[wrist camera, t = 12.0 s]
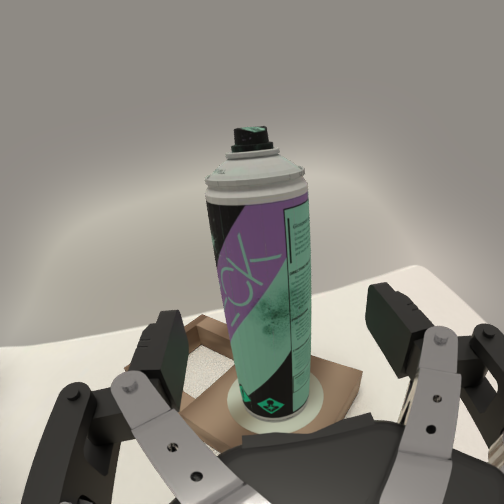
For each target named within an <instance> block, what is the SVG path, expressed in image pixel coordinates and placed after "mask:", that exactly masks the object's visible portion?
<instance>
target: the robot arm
mask: <svg viewBox="0 0 504 504" xmlns="http://www.w3.org/2000/svg"><path fill="white" fill-rule="evenodd" d="M365 320H366V325H367V328H368V330H369V331H370V333H371V334H372V336H373V338H374V339H375V341H376V342H377V344H378V346H379V347H380V349H381V351H382V352H383V354H384V355H385V357H386V359H387V360H388V362H389V364H390V365H391V367H392V369H393V370H394V372H395V374H396V376H397V377H398V379H400V378H403V377H406V376H409V378H410V381H409V384H408V388H407V392H406V395H405V399H404V402H403V406H402V409H401V412H400V415H399V418H398V421H397V423H396V422H391V421H384V420H374V419H373V417H372V415H371V412H370V413H366V414H363V415H359V416H355V417H351V418H347V419H343V420H340V421H338V422H336V423H334V424H331V425H329V426H327V427H325V428H322V429H320V430H318V431H315V432H313V433H309V434H301V433H281V432H272V433H263V434H254V435H243V436H242V444H241V445H238V446H235V447H233V448H230V449H228V450H226V451H224V452H223V453H221V454H219V455H218V456H216V455H215V454H214V453H213V452H212V451H211V450H210V449H209V448H208V447H207V446H206V444H205V443H204V442H203V441H202V440H201V439H200V438H199V437H198V436H197V435H196V433H195V432H194V431H193V430H192V429H191V428H190V427H189V425H188V424H187V423H186V422H185V421H184V420H183V418H182V417H181V416H180V415H179V414H178V412H180V406H181V399H182V393H183V386H184V380H185V373H186V367H187V361H188V355H189V344H188V339H187V335H186V332H185V328H184V325H183V321H182V317H181V314H180V312H179V310H169V311H161V312H160V314H159V317H158V319H157V322H156V323H153V324H150V325H149V326H148V327H147V328H146V329H145V330H144V331H143V332H142V335H141V337H140V341H139V342H138V345H137V348H136V350H135V353H134V355H133V358H132V361H131V363H130V366H129V369H128V371H127V372H124V373H122V374H120V375H118V376H117V377H116V378H115V379H114V380H113V382H112V384H111V387H109V388H105V389H101V390H96V391H91V390H90V388H89V386H88V385H87V384H85V383H82V382H75V383H71V384H69V385H67V386H66V387H64V388H63V389H62V391H61V392H60V394H59V396H58V398H57V400H56V403H55V405H54V407H53V410H52V412H51V415H50V417H49V419H48V422H47V425H46V427H45V430H44V432H43V435H42V438H41V440H40V443H39V446H38V449H37V451H36V454H35V457H34V460H33V463H32V466H31V470H30V473H29V476H28V479H27V483H26V486H25V490H24V493H23V497H22V501H21V504H111V501H112V493H113V486H114V480H115V473H116V467H117V461H118V456H119V450H120V445H121V442H122V441H127V440H132V439H136V440H137V442H138V443H139V445H140V446H141V448H142V450H143V451H144V453H145V454H146V456H147V457H148V459H149V460H150V462H151V463H152V465H153V466H154V468H155V469H156V471H157V472H158V474H159V475H160V476H161V478H162V479H163V480H164V482H165V483H166V485H167V486H168V487H169V489H170V490H171V491H172V493H173V494H174V495H175V496H176V498H175V499H174V500H172V501H171V502H170V503H169V504H504V335H503V334H502V333H501V332H500V330H499V329H498V328H496V327H494V326H493V325H490V324H479V325H477V326H476V327H475V328H474V331H473V334H472V336H458V337H457V335H456V334H455V332H454V331H452V330H451V329H449V328H447V327H443V326H434V325H433V324H432V322H431V321H430V320H429V319H428V318H427V317H426V316H425V315H424V314H423V312H422V311H421V310H420V309H418V307H417V306H416V305H415V304H414V303H413V302H412V301H411V300H410V298H409V297H408V296H406V295H404V294H402V293H400V292H399V291H396V292H395V291H394V290H393V288H392V287H391V286H390V285H389V284H388V283H386V282H384V283H378V284H373V285H370V286H369V288H368V295H367V305H366V313H365ZM488 370H489V371H490V373H491V374H492V375H493V377H494V378H495V380H496V381H497V384H498V391H497V393H496V391H495V390H494V388H493V387H492V386H491V384H490V383H489V381H488V380H487V378H486V377H485V376H486V374H487V372H488ZM460 398H461V400H462V401H463V403H464V405H465V406H466V408H467V410H468V411H469V413H470V415H471V417H472V418H473V420H474V422H475V424H476V426H477V427H478V429H479V431H480V433H481V435H482V437H483V439H484V441H485V442H486V444H487V446H488V448H489V452H488V460H489V461H488V462H484V461H482V460H479V459H477V458H474V457H472V456H469V455H467V454H465V453H462V452H460V451H458V450H455V449H453V443H454V437H455V431H456V425H457V418H458V410H459V401H460Z"/></svg>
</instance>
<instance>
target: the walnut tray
mask: <svg viewBox="0 0 504 504" xmlns="http://www.w3.org/2000/svg"><path fill="white" fill-rule="evenodd" d="M184 328H185V332H186V335H187V339H188V344H189V353H191V352H192V351H193V350H195V349H196V348H197V347H199V346H200V345H203V346H205V347H207V348H209V349H212V350H214V351H216V352H218V353H220V354H222V355H224V356H226V357H228V358H230V359H232V360H234V358H233V353H232V348H231V343H230V338H229V333H228V328H227V324H225V323H222V322H220V321H217V320H215V319H213V318H210V317H208V316H205V315H203V314H202V315H200V316H199V317H197V318H196V319H195V320H193V321H192V322H190V323H189V324H187V325H186V326H185V327H184ZM129 366H130V364H129V365H128V366H126V367H125V368H124V370H125V372H127V371H128V369H129ZM362 373H363V371H360V370H357V369H354V368H350V367H347V366H344V365H340V364H337V363H334V362H331V361H328V360H324V359H321V358H318V357H315V356H312V355H311V359H310V386H309V398H308V403H307V405H306V407H305V408H304V410H303V411H302V412H301V413H300V414H299V415H297V416H296V417H294V418H292V419H290V420H287V421H283V422H275V423H271V422H264V421H261V420H258V419H256V418H254V417H253V416H251V415H250V414H249V413H248V412H247V410H246V409H245V407H244V404H243V401H242V397H241V392H240V387H239V383H238V378H237V373H236V368H235V365H234V366H232V367H231V368H230V369H229V370H228V371H227V372H226V373H225V374H224V375H222V376H221V377H220V378H219V379H218V380H217V381H216V382H215V383H213V384H212V385H211V386H210V387H209V388H208V389H207V390H206V391H204V392H203V393H202V394H201V395H200V396H199V397H197V398H196V399H194V398H193V397H191V396H190V395H188V394H187V393H185V392H184V391H183V393H182V399H181V406H180V412H178V414H179V415H180V416H181V417H182V418H183V420H184V421H185V422H186V423H187V424H188V425H189V427H190V428H191V429H192V430H193V431H194V432H195V433H196V435H197V436H198V437H199V438H200V439H201V440H202V441H203V442H205V443H206V444H208V445H209V446H211V447H212V448H214V449H215V450H217V451H218V452H220V453H223V452H224V451H226V450H228V449H230V448H233V447H235V446H238V445H241V444H242V436H243V435H254V434H263V433H272V432H281V433H301V434H309V433H313V432H315V431H318V430H320V429H322V428H325V427H327V426H329V425H331V424H334V423H336V422H338V421H340V420H343V418H344V417H345V415H346V413H347V411H348V410H349V408H350V406H351V404H352V403H353V401H354V399H355V397H356V395H357V393H358V391H359V387H360V382H361V378H362Z"/></svg>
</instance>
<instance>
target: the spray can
mask: <svg viewBox="0 0 504 504" xmlns="http://www.w3.org/2000/svg"><path fill="white" fill-rule="evenodd" d="M234 137H235V138H234V139H235V145H234V146H231V149H232V152H228V153H226V158H228V160H227V161H225V162H223V163H222V164H221V165H220V166H219V167H218V168H217V169H216V170H215V171H214V172H213V173H212V174H211V175H208V176H207V177H205V182H206V184H207V185H208V188H207V190H206V192H205V197H206V203H207V210H208V217H209V223H210V230H211V235H212V242H213V248H214V255H215V260H216V267H217V272H218V278H219V284H220V289H221V295H222V301H223V306H224V312H225V317H226V322H227V328H228V333H229V338H230V343H231V348H232V353H233V358H234V363H235V368H236V373H237V378H238V383H239V387H240V392H241V397H242V401H243V404H244V407H245V409H246V410H247V412H248V413H249V414H250V415H251V416H253V417H254V418H256V419H258V420H261V421H264V422H271V423H275V422H283V421H287V420H290V419H292V418H294V417H296V416H297V415H299V414H300V413H301V412H302V411H303V410H304V408H305V407H306V405H307V403H308V398H309V386H310V359H311V248H310V223H309V221H310V220H309V199H308V183H307V182H306V181H305V179H304V178H303V175H304V174H305V168H303V167H301V166H297V165H296V164H294V163H293V162H291V161H290V160H288V159H287V158H285V157H283V156H281V155H279V154H278V153H279V152H280V151H279V148H274V147H273V142H269V140H268V133H267V127H265V126H261V127H245V128H237V129H234Z"/></svg>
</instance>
